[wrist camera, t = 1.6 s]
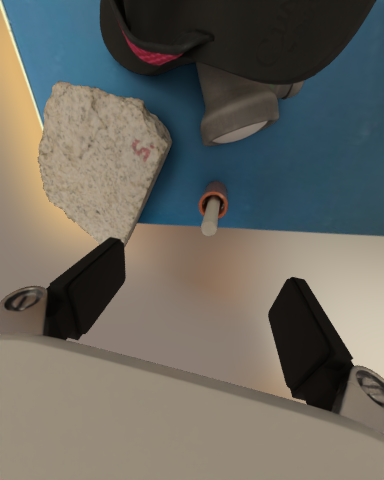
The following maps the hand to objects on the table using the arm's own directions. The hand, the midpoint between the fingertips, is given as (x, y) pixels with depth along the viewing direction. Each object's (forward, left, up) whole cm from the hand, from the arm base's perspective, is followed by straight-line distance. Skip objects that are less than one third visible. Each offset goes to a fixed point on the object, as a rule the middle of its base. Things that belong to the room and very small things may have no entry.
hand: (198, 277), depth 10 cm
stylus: (0, 0, -19) cm, 19 cm away
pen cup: (0, 0, -20) cm, 19 cm away
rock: (-2, -16, -20) cm, 26 cm away
